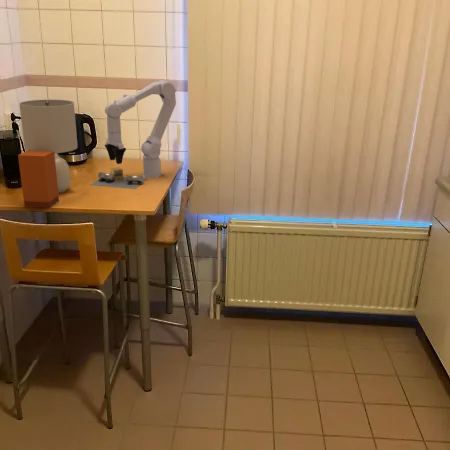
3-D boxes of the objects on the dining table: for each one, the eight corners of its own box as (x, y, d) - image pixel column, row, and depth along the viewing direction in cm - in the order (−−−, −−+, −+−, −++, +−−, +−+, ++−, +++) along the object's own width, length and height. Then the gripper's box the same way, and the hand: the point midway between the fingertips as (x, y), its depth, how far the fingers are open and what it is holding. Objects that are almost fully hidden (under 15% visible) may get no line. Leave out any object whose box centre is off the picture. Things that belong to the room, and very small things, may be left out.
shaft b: (126, 186, 216) (126, 176, 215) (127, 183, 220) (127, 174, 218) (142, 186, 217) (142, 176, 215) (143, 183, 220) (143, 174, 219)
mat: (104, 176, 229) (104, 175, 229) (147, 180, 226) (147, 178, 226) (89, 186, 215) (89, 185, 214) (135, 190, 211) (135, 188, 211)
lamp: (28, 199, 196) (16, 105, 183) (32, 185, 214) (21, 98, 201) (81, 196, 201) (73, 104, 188) (81, 182, 219) (73, 97, 206)
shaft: (115, 182, 221) (115, 173, 219) (110, 184, 217) (109, 175, 216) (103, 180, 224) (102, 171, 222) (97, 182, 220) (96, 173, 219)
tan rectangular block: (110, 178, 225) (110, 168, 223) (119, 176, 227) (118, 167, 226) (114, 180, 222) (113, 170, 220) (123, 179, 224) (122, 169, 222)
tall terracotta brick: (59, 200, 196) (54, 150, 189) (49, 208, 188) (44, 156, 181) (35, 198, 197) (29, 149, 190) (24, 206, 189) (17, 155, 181)
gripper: (99, 129, 220) (101, 159, 225) (111, 135, 209) (113, 166, 214) (114, 128, 224) (116, 157, 229) (127, 133, 213) (128, 164, 218)
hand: (115, 161), depth 222 cm, fingers open, 7 cm apart
